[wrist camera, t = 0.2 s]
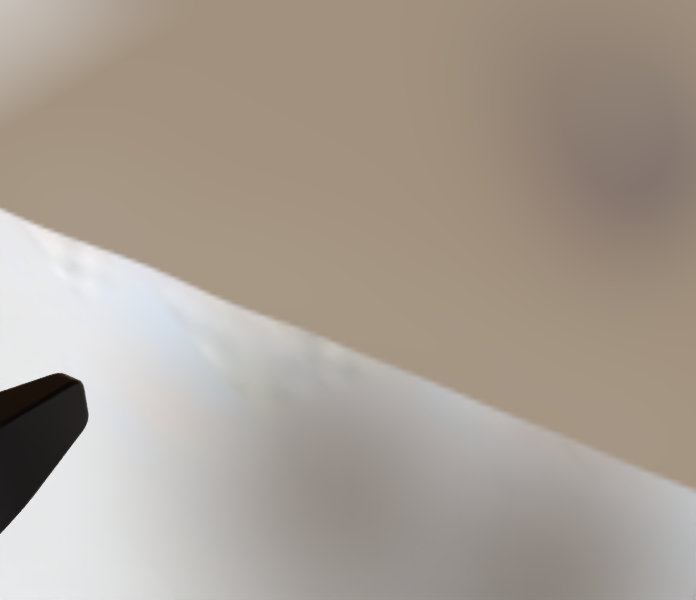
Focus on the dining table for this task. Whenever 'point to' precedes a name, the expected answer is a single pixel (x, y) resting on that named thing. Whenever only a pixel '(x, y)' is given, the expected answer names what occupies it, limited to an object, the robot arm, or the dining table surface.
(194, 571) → the dining table surface
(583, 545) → the dining table surface
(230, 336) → the dining table surface
